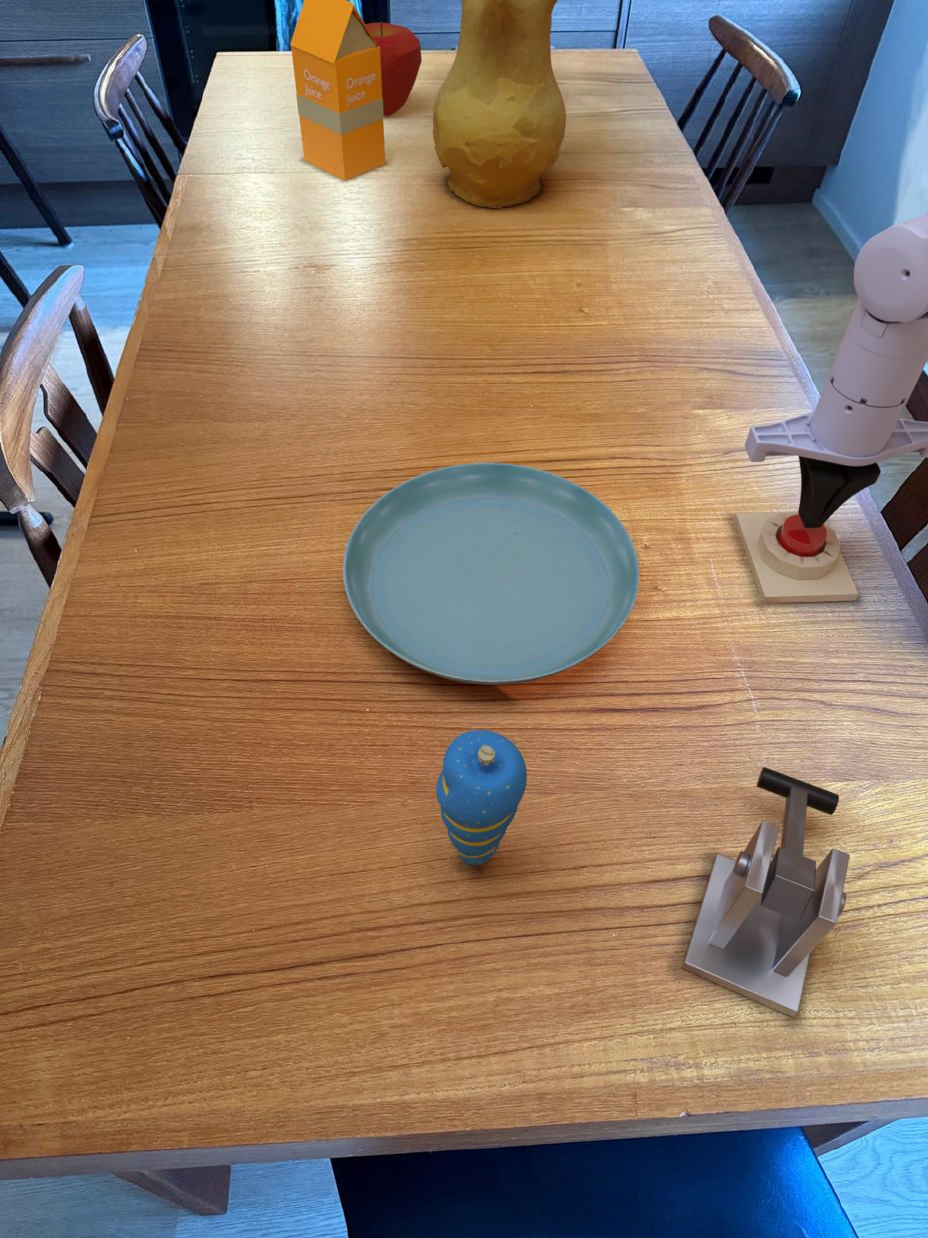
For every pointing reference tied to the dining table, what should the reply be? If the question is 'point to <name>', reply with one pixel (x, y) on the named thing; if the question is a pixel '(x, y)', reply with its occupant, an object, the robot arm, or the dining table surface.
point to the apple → (396, 63)
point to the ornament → (480, 792)
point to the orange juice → (338, 89)
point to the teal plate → (491, 573)
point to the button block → (792, 563)
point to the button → (801, 537)
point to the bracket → (761, 926)
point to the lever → (793, 844)
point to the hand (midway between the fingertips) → (809, 519)
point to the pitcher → (500, 103)
